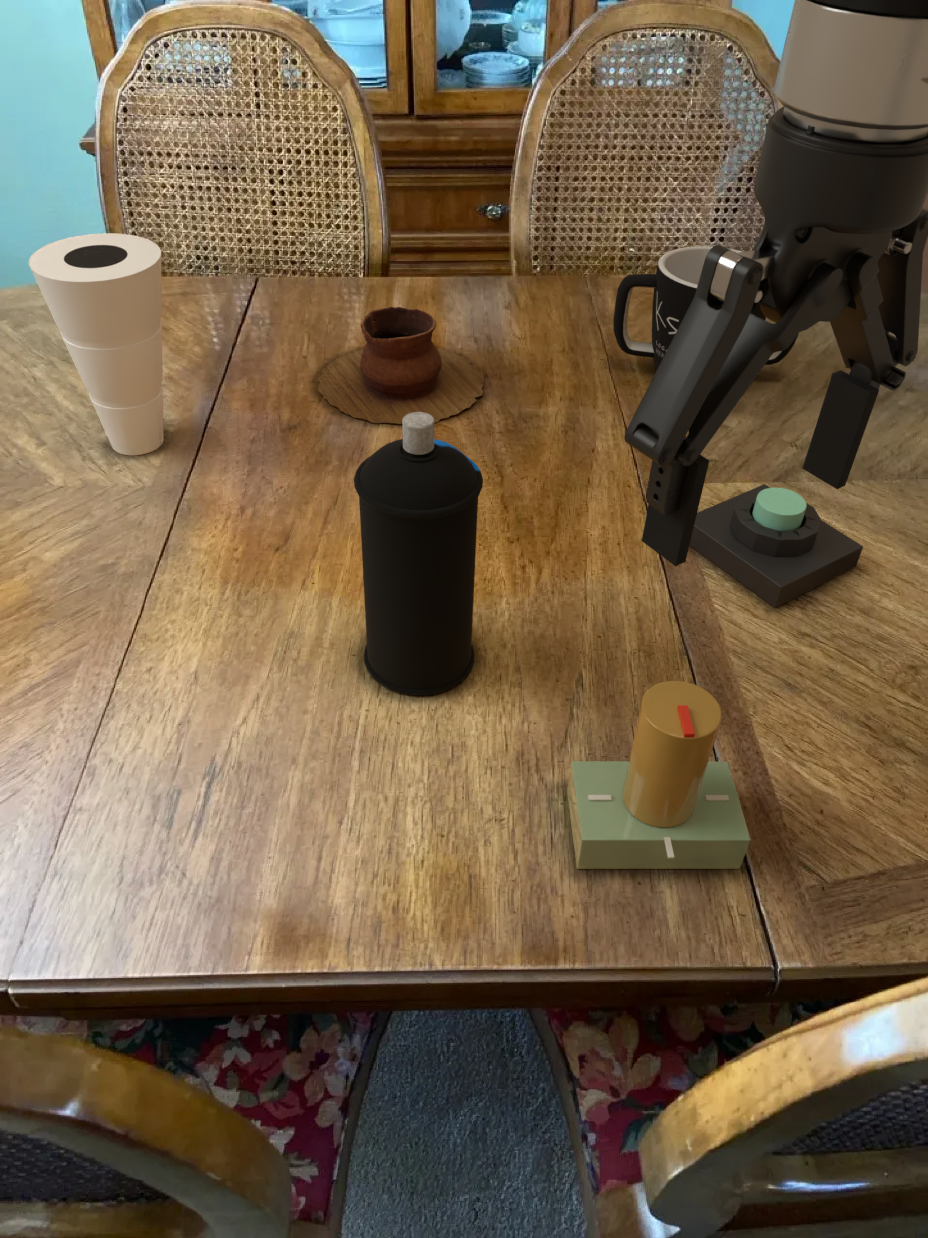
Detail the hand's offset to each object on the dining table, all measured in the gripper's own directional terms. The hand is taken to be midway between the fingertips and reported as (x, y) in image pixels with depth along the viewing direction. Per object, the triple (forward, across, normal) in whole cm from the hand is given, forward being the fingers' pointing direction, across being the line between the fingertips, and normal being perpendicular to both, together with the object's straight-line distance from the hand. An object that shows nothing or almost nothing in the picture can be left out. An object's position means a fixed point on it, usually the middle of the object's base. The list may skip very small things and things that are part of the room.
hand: (747, 512), depth 56 cm
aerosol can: (+18, -13, +16) cm, 27 cm away
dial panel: (+18, -9, -6) cm, 21 cm away
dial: (+14, -9, -6) cm, 18 cm away
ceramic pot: (+18, +9, +52) cm, 56 cm away
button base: (+18, +19, +10) cm, 28 cm away
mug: (+18, +38, +37) cm, 56 cm away
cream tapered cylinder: (+18, -19, +56) cm, 62 cm away
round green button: (+14, +19, +10) cm, 26 cm away
